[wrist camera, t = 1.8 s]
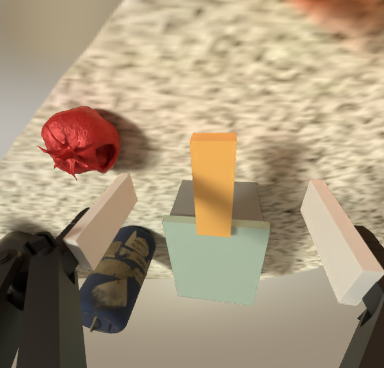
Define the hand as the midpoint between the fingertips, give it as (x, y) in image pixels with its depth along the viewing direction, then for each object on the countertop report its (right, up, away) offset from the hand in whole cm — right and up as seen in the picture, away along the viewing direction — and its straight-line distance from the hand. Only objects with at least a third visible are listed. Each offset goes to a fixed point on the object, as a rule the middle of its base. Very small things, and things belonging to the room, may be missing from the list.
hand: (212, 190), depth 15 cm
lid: (+1, -7, +12) cm, 14 cm away
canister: (-14, -11, +29) cm, 35 cm away
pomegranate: (-17, +8, +16) cm, 25 cm away
